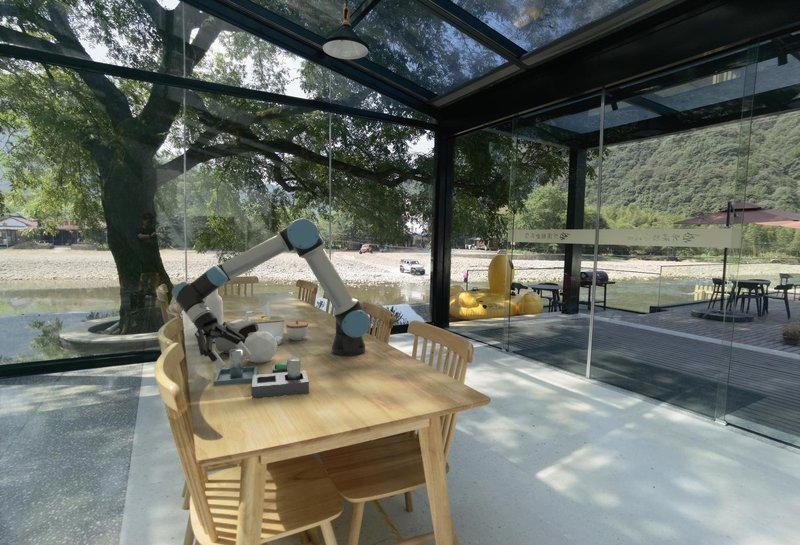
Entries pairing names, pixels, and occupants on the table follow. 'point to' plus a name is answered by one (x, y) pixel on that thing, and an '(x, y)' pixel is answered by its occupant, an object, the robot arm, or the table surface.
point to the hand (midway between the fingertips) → (236, 361)
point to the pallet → (278, 385)
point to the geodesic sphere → (261, 346)
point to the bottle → (215, 306)
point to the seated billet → (293, 369)
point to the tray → (224, 378)
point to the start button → (281, 365)
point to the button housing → (277, 369)
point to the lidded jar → (297, 330)
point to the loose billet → (236, 363)
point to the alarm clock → (241, 328)
